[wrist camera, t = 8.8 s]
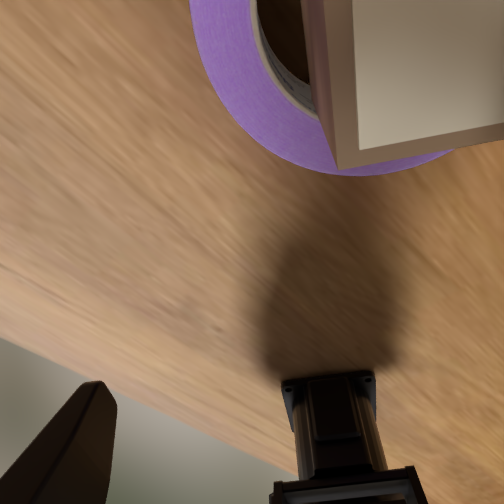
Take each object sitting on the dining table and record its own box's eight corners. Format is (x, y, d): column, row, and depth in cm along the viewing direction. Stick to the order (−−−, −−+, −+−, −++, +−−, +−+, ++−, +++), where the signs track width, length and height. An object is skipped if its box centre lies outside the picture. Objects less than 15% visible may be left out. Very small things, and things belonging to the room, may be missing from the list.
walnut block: (467, 67, 13) (563, 131, 9) (311, 100, 14) (339, 173, 10) (490, -142, 10) (648, -182, 6) (290, -90, 11) (316, -95, 7)
